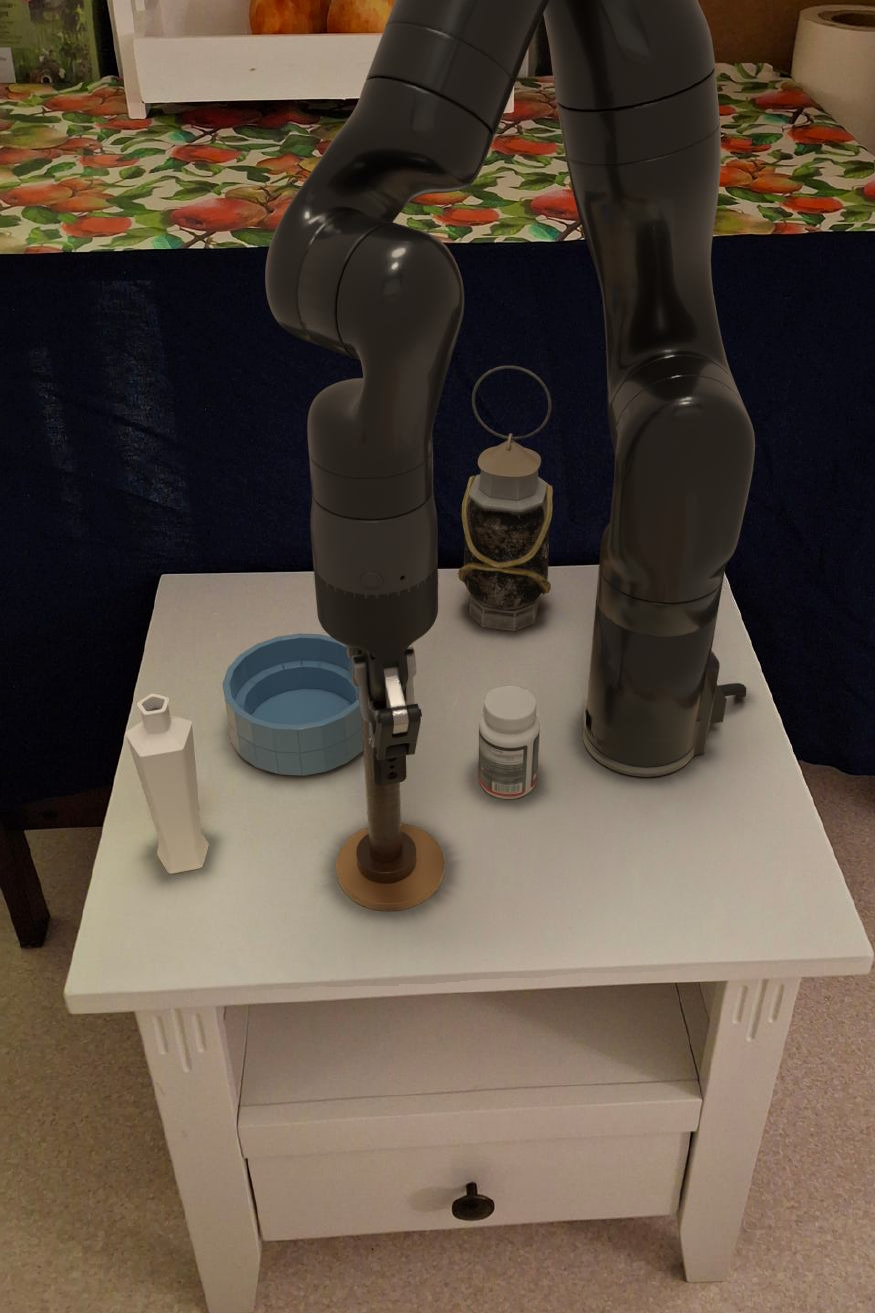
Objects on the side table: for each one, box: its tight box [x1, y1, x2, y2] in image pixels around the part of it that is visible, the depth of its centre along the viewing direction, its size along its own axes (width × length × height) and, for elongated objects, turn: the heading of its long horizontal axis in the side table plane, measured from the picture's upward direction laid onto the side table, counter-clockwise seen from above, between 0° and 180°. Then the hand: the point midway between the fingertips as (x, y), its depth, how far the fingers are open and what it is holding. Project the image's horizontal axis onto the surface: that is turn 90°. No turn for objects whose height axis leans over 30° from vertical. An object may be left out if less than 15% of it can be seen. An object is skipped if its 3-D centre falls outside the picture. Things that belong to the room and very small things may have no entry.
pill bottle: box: [477, 685, 541, 800], centre depth 95 cm, size 5×5×8 cm
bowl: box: [222, 632, 364, 776], centre depth 101 cm, size 12×12×6 cm
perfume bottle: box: [124, 693, 210, 874], centre depth 87 cm, size 5×4×15 cm
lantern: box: [457, 365, 554, 632], centre depth 108 cm, size 9×8×25 cm
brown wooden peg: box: [356, 697, 416, 884], centre depth 85 cm, size 4×4×15 cm
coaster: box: [335, 823, 446, 912], centre depth 90 cm, size 8×8×1 cm
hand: (384, 761), depth 84 cm, fingers open, 3 cm apart
